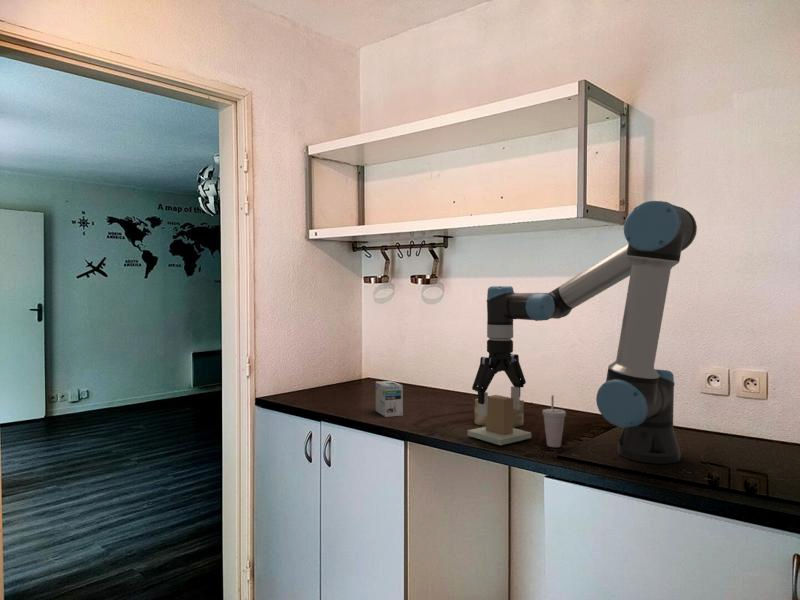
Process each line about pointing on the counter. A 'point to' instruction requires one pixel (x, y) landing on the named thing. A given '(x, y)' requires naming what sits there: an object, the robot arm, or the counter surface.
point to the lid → (499, 423)
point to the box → (517, 415)
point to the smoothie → (554, 425)
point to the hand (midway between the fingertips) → (499, 412)
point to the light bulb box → (389, 398)
